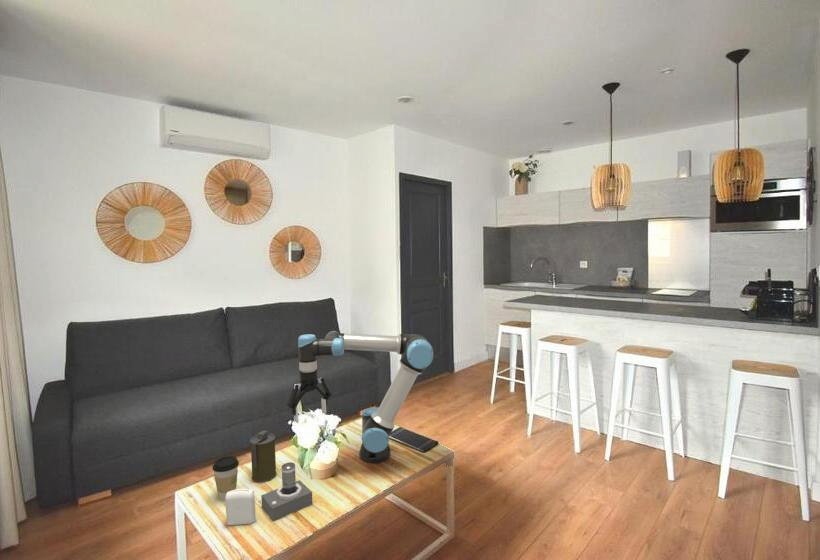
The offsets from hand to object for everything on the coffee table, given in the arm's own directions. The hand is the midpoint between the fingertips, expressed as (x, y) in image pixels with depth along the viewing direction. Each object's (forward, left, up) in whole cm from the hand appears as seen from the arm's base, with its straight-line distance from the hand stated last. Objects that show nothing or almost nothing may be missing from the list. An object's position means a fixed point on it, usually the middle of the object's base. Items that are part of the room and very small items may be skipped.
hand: (310, 417), depth 185 cm
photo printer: (+35, +13, -26) cm, 46 cm away
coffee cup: (+34, -7, -26) cm, 44 cm away
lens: (+17, +15, -21) cm, 31 cm away
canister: (+17, -12, -26) cm, 34 cm away
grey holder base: (+17, +15, -26) cm, 34 cm away
